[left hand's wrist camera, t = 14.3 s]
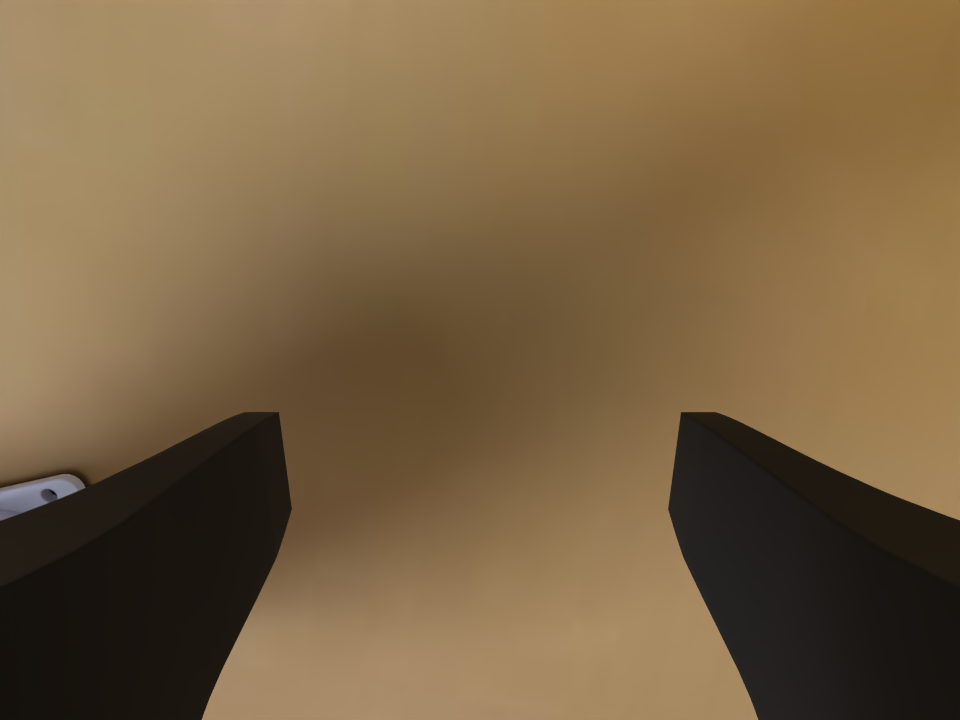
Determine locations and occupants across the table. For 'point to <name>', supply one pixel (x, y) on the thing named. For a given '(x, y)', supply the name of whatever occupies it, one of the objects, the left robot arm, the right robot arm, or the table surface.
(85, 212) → the table surface
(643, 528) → the table surface
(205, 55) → the table surface
